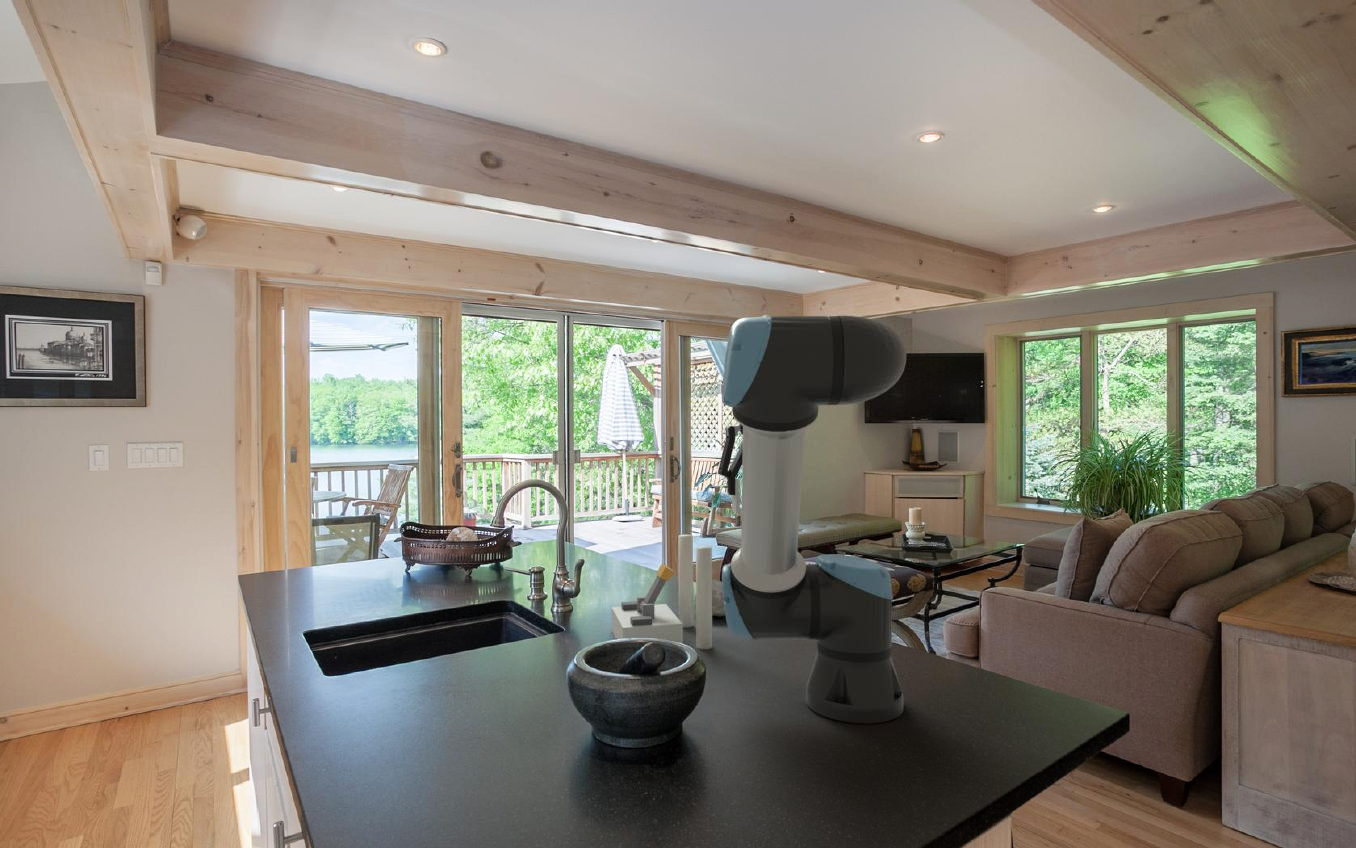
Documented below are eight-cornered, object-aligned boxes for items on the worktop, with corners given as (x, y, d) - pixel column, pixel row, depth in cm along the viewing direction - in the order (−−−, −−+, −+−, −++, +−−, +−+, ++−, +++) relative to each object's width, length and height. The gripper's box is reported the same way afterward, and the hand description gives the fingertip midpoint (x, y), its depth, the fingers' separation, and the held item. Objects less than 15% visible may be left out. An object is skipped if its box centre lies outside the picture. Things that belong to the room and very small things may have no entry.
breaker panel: (682, 648, 144) (682, 608, 144) (623, 653, 141) (622, 612, 141) (665, 626, 159) (665, 590, 159) (611, 630, 157) (611, 593, 157)
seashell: (727, 606, 159) (738, 557, 171) (680, 612, 164) (694, 564, 176) (743, 633, 164) (752, 584, 175) (697, 638, 168) (709, 590, 180)
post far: (694, 627, 159) (694, 536, 159) (680, 628, 158) (680, 537, 158) (691, 623, 162) (690, 534, 162) (677, 624, 161) (676, 534, 161)
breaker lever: (649, 617, 148) (673, 571, 149) (640, 612, 148) (665, 567, 149) (645, 612, 152) (669, 567, 153) (637, 607, 152) (661, 563, 153)
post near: (714, 648, 144) (713, 548, 144) (698, 650, 143) (698, 549, 143) (709, 644, 147) (709, 545, 147) (694, 645, 146) (694, 546, 146)
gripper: (804, 399, 149) (804, 507, 149) (701, 398, 144) (701, 510, 144) (819, 397, 142) (819, 511, 142) (711, 397, 137) (711, 515, 137)
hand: (760, 511), depth 143 cm, fingers open, 9 cm apart
